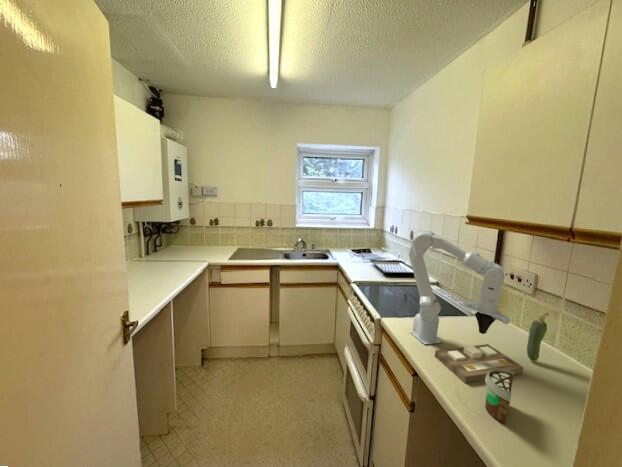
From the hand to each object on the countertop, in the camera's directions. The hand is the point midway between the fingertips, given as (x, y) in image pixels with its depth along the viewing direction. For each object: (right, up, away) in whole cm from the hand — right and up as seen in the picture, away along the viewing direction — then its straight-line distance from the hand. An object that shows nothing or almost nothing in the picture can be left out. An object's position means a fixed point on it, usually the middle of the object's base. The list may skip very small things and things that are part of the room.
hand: (482, 332), depth 99 cm
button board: (-4, -10, -3) cm, 11 cm away
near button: (-11, -9, -3) cm, 15 cm away
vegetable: (+19, -11, +1) cm, 22 cm away
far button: (+2, -9, +1) cm, 9 cm away
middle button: (-5, -8, -1) cm, 9 cm away
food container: (-11, -13, -23) cm, 29 cm away
